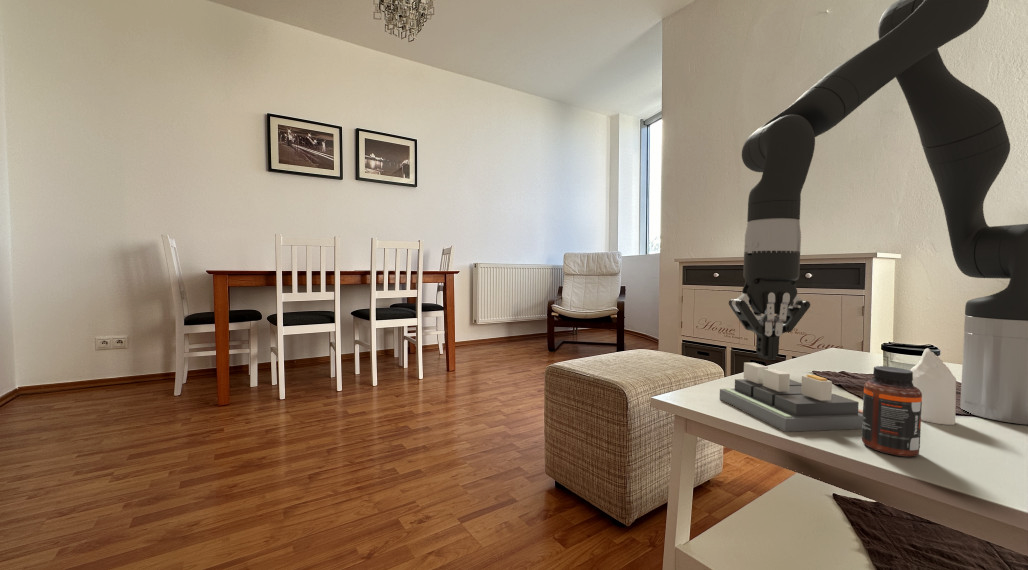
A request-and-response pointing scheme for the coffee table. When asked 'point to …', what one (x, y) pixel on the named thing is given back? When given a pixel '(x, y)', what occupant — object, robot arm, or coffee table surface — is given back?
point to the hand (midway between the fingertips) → (766, 358)
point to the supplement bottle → (892, 412)
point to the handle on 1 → (754, 372)
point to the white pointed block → (935, 389)
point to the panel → (795, 420)
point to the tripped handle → (816, 387)
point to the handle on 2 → (776, 380)
